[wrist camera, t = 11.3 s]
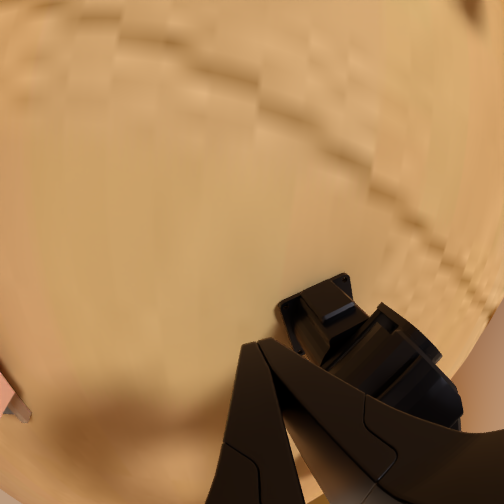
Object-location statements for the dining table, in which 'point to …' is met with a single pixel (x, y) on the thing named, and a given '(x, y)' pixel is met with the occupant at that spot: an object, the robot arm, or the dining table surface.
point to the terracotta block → (4, 394)
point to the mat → (18, 408)
